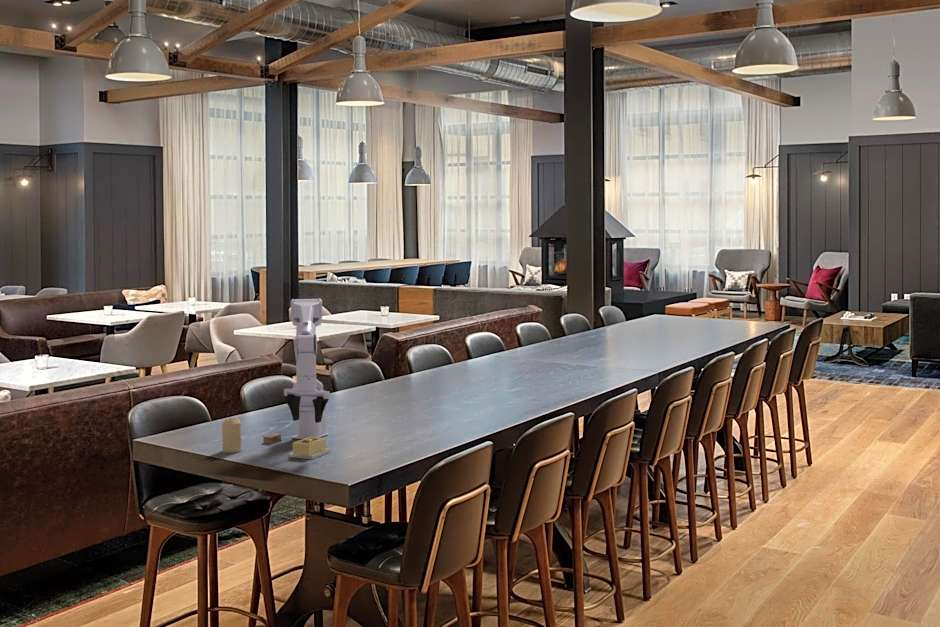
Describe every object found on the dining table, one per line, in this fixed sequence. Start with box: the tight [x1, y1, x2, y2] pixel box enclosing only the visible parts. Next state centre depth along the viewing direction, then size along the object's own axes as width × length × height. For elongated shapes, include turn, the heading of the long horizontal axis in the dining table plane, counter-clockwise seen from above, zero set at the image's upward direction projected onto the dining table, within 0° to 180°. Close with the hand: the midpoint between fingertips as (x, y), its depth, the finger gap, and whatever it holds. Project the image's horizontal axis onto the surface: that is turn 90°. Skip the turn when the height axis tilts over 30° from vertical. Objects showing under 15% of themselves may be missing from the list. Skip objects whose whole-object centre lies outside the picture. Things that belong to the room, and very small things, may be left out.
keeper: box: [288, 439, 331, 460], centre depth 298 cm, size 10×8×4 cm
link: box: [292, 437, 327, 455], centre depth 298 cm, size 9×6×3 cm, turn 156°
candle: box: [221, 417, 242, 454], centre depth 303 cm, size 6×6×10 cm
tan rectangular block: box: [262, 433, 282, 445], centre depth 316 cm, size 5×3×2 cm, turn 156°
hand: (307, 421), depth 298 cm, fingers open, 7 cm apart
